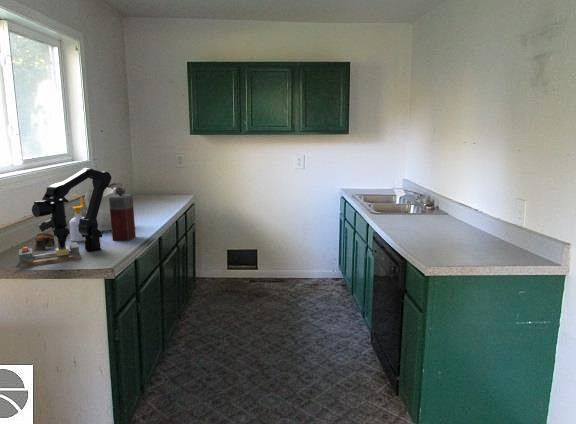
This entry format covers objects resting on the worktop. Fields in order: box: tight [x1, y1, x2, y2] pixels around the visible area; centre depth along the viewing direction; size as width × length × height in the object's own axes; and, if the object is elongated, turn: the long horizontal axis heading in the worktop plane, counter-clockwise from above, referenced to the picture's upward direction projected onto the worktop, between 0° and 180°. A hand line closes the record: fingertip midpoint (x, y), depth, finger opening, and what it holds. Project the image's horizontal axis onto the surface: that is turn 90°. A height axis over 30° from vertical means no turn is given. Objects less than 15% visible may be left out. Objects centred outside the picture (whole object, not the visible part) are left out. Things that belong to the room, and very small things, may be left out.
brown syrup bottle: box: [109, 186, 137, 242], centre depth 239 cm, size 9×11×28 cm
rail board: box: [18, 241, 82, 268], centre depth 203 cm, size 24×11×6 cm, turn 121°
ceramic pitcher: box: [84, 187, 118, 232], centre depth 261 cm, size 22×20×25 cm
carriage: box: [55, 237, 70, 256], centre depth 205 cm, size 5×5×8 cm
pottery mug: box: [33, 232, 56, 250], centre depth 225 cm, size 12×10×8 cm
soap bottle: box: [68, 193, 85, 243], centre depth 237 cm, size 9×9×25 cm
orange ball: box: [21, 246, 29, 252], centre depth 198 cm, size 2×2×2 cm
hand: (61, 246), depth 205 cm, fingers open, 3 cm apart
